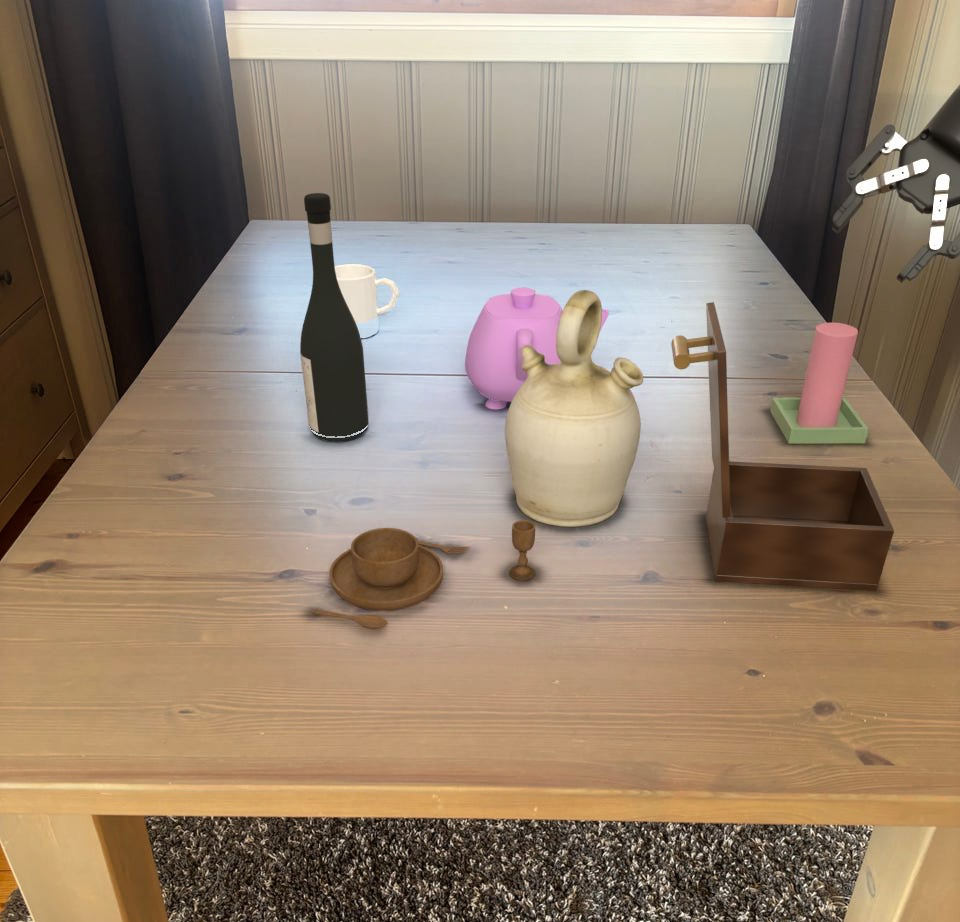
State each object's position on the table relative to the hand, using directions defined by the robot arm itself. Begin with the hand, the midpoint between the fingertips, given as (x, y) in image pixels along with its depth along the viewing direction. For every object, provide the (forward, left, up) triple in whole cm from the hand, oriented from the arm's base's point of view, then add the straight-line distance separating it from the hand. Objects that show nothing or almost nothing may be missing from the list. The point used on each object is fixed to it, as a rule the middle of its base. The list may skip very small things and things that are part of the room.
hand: (867, 255), depth 102 cm
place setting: (+21, +47, -28) cm, 58 cm away
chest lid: (+4, +20, -11) cm, 23 cm away
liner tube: (+8, -17, -27) cm, 33 cm away
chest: (-4, +15, -28) cm, 32 cm away
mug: (+81, -2, -28) cm, 86 cm away
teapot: (+43, +1, -28) cm, 51 cm away
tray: (+8, -17, -28) cm, 34 cm away
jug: (+21, +22, -28) cm, 41 cm away
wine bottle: (+56, +27, -28) cm, 68 cm away
